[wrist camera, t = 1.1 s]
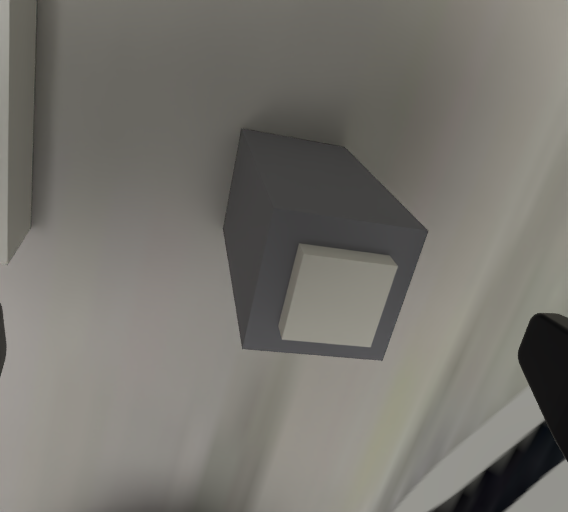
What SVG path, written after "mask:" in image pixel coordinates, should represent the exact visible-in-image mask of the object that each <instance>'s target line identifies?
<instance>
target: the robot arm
mask: <svg viewBox="0 0 568 512" xmlns="http://www.w3.org/2000/svg"><path fill="white" fill-rule="evenodd" d="M5 357H6V337H5V328H4V319H3V311H2V306H1V303H0V376H1V373H2V369H3V365H4V362H5ZM518 360H519V364H520V366H521V368H522V370H523V373H524V375H525V377H526V379H527V381H528V384H529V386H530V388H531V390H532V392H533V394H534V397H535V399H536V401H537V403H538V405H539V407H540V410H541V412H542V414H543V416H544V418H545V421H546V423H547V425H548V427H549V429H550V431H551V433H552V435H553V437H554V439H555V440H556V442H557V444H558V446H559V448H560V449H561V451H562V453H563V455H564V456H565V458H566V460H567V462H568V318H567V317H565V316H562V315H560V314H555V313H537V314H535V315H534V316H533V317H532V318H531V320H530V322H529V324H528V327H527V329H526V332H525V334H524V337H523V339H522V342H521V344H520V347H519V350H518Z"/></svg>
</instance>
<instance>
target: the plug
mask: <svg viewBox="0 0 568 512" xmlns="http://www.w3.org/2000/svg"><path fill="white" fill-rule="evenodd" d="M223 231H224V237H225V244H226V250H227V256H228V262H229V269H230V275H231V281H232V287H233V293H234V300H235V306H236V312H237V318H238V325H239V331H240V337H241V343H242V349H249V350H261V351H273V352H285V353H297V354H309V355H321V356H333V357H345V358H357V359H369V360H381V361H383V358H384V355H385V352H386V349H387V347H388V344H389V341H390V338H391V335H392V332H393V330H394V327H395V324H396V321H397V318H398V315H399V313H400V310H401V307H402V304H403V301H404V298H405V296H406V293H407V290H408V287H409V284H410V281H411V279H412V276H413V273H414V270H415V267H416V264H417V262H418V259H419V256H420V253H421V250H422V247H423V245H424V242H425V239H426V236H427V233H428V230H427V229H426V228H425V227H424V226H423V225H422V224H421V223H420V222H419V221H418V220H417V219H416V218H415V217H414V216H413V215H412V214H411V213H410V212H409V211H408V210H407V209H406V208H405V207H404V206H403V205H402V204H401V203H400V202H399V201H398V200H397V199H396V198H395V197H394V196H393V195H392V194H391V193H390V192H389V191H388V190H387V189H386V188H385V187H384V186H383V185H382V184H381V183H380V182H379V181H378V180H377V179H376V178H375V177H374V176H373V175H372V174H371V173H370V172H369V171H368V170H367V169H366V168H365V167H364V166H363V165H362V164H361V163H360V162H359V161H358V160H357V159H356V158H355V157H354V156H353V155H352V154H351V153H350V152H349V151H348V150H347V149H346V148H345V147H341V146H335V145H330V144H324V143H319V142H313V141H308V140H302V139H297V138H291V137H286V136H280V135H275V134H269V133H264V132H259V131H253V130H248V129H241V134H240V140H239V145H238V150H237V156H236V161H235V167H234V172H233V178H232V183H231V188H230V194H229V199H228V205H227V210H226V215H225V221H224V226H223Z"/></svg>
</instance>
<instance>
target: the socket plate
mask: <svg viewBox="0 0 568 512" xmlns="http://www.w3.org/2000/svg"><path fill="white" fill-rule="evenodd" d="M36 17H37V0H0V264H2V265H8V263H9V262H10V260H11V259H12V257H13V255H14V254H15V252H16V251H17V249H18V247H19V246H20V244H21V243H22V241H23V240H24V238H25V236H26V235H27V233H28V232H29V230H30V229H31V202H32V165H33V128H34V91H35V54H36Z"/></svg>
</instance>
